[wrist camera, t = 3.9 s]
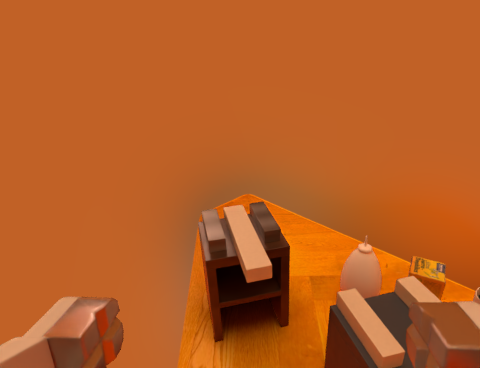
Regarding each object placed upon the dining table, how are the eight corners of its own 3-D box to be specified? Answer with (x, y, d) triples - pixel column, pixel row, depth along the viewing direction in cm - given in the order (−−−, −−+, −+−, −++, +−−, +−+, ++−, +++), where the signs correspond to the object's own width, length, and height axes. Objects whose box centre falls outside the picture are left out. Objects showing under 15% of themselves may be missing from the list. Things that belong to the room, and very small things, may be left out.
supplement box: (403, 295, 69) (412, 254, 65) (434, 304, 66) (446, 263, 62) (400, 314, 65) (409, 272, 60) (434, 325, 62) (446, 282, 57)
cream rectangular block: (272, 278, 48) (272, 265, 47) (247, 283, 48) (246, 269, 46) (243, 215, 66) (242, 204, 65) (224, 218, 65) (223, 207, 64)
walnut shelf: (288, 325, 64) (290, 234, 54) (215, 342, 61) (203, 248, 52) (269, 282, 75) (267, 200, 66) (207, 294, 72) (196, 211, 63)
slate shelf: (461, 431, 45) (497, 344, 38) (367, 462, 43) (386, 375, 35) (400, 352, 57) (419, 274, 49) (323, 372, 54) (331, 293, 47)
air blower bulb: (335, 314, 65) (343, 242, 58) (340, 288, 72) (347, 221, 64) (376, 324, 63) (389, 250, 55) (377, 297, 69) (389, 227, 62)
